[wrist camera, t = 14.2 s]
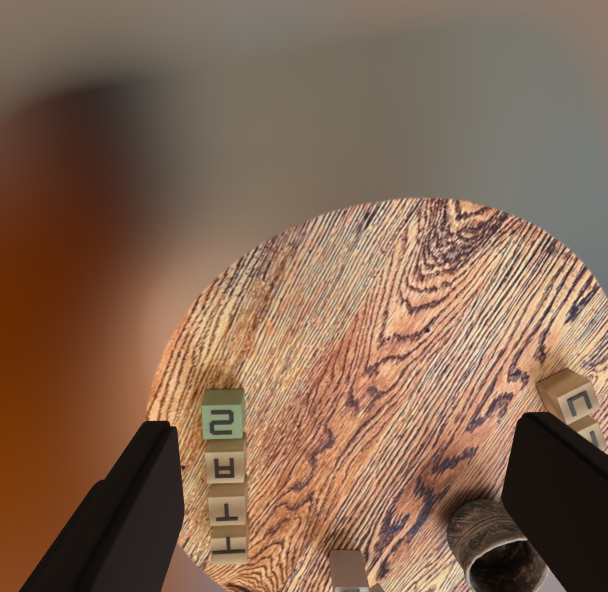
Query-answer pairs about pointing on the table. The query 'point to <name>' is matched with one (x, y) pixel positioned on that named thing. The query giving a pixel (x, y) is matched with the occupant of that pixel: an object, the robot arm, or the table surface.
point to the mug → (494, 550)
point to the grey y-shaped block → (349, 572)
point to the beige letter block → (230, 544)
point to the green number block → (223, 414)
